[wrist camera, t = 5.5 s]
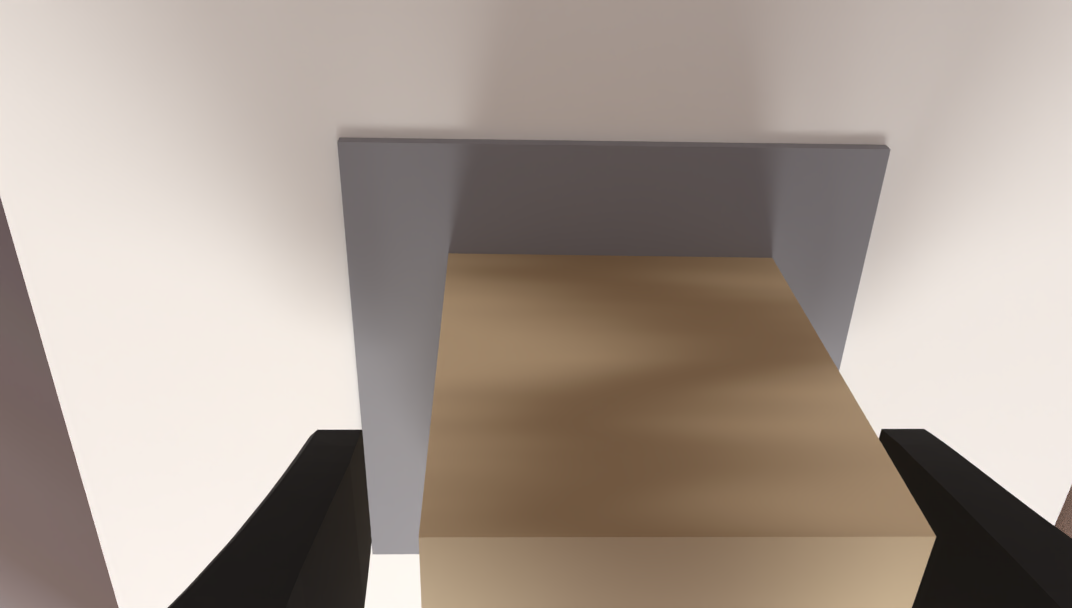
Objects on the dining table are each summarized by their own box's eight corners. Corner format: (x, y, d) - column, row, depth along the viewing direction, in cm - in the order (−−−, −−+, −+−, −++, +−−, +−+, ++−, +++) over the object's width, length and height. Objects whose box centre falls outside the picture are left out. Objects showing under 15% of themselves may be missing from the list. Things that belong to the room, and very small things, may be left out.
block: (772, 257, 14) (936, 536, 9) (727, 503, 16) (833, 834, 11) (448, 253, 14) (418, 537, 8) (452, 502, 16) (430, 840, 11)
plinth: (1254, -235, 13) (1388, -241, 11) (939, 634, 22) (982, 716, 20) (-48, -280, 12) (-152, -293, 10) (180, 643, 21) (148, 729, 19)
